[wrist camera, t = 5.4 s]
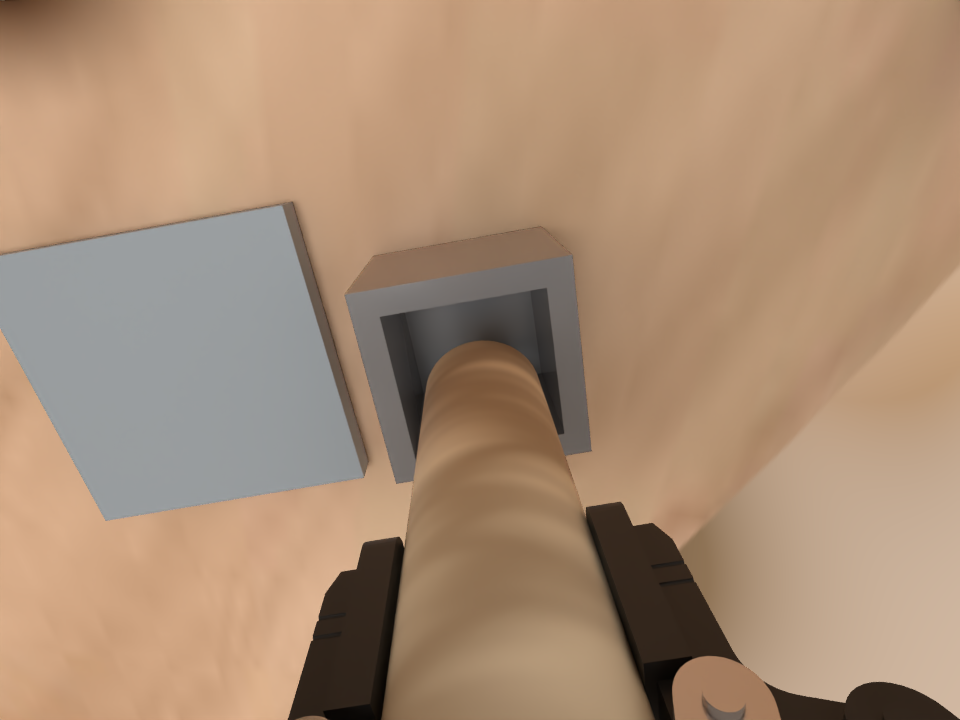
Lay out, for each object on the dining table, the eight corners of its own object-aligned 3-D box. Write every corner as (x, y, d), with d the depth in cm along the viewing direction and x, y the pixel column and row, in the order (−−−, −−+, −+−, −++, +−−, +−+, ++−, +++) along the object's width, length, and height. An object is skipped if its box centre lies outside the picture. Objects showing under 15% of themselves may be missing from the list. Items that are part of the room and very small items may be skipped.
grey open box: (541, 226, 24) (572, 254, 18) (559, 379, 27) (591, 450, 21) (373, 255, 25) (344, 294, 18) (409, 404, 28) (396, 483, 21)
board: (292, 201, 24) (282, 205, 22) (368, 461, 29) (364, 477, 27) (-8, 255, 24) (-36, 262, 22) (122, 503, 29) (105, 520, 28)
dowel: (532, 331, 17) (697, 747, 5) (546, 433, 19) (699, 937, 7) (414, 351, 18) (318, 802, 5) (438, 451, 19) (401, 977, 7)
